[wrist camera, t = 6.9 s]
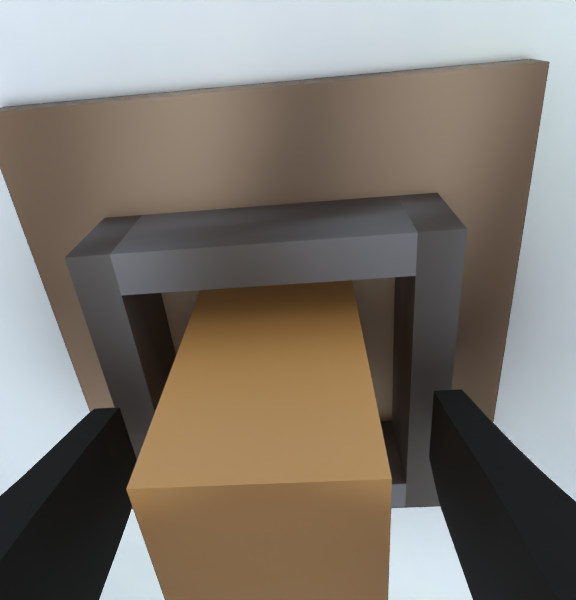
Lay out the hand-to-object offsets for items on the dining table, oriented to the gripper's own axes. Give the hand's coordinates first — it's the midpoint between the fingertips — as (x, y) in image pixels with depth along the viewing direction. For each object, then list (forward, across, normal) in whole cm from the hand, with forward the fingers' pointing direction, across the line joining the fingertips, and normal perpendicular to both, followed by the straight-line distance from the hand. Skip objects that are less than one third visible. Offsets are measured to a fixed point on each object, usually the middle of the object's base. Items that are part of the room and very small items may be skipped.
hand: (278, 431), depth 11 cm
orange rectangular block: (+4, 0, 0) cm, 4 cm away
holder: (+5, 0, 0) cm, 5 cm away
